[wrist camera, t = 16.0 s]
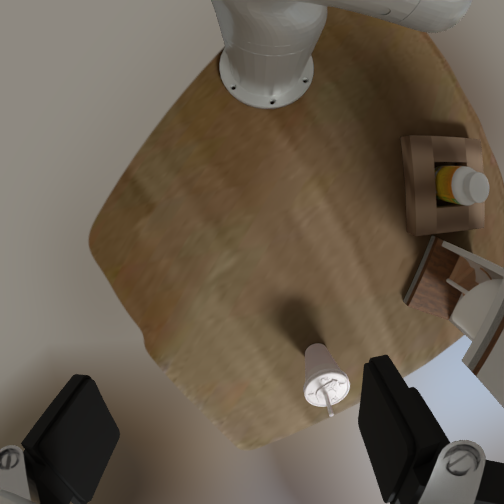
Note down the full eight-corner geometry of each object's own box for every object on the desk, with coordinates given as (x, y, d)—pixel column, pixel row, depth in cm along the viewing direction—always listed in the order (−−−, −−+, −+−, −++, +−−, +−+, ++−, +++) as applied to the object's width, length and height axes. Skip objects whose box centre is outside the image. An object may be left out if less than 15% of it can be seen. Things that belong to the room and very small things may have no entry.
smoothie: (289, 362, 47) (299, 424, 33) (307, 330, 45) (323, 388, 31) (324, 372, 47) (342, 431, 33) (342, 342, 45) (368, 398, 32)
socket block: (400, 137, 37) (409, 135, 34) (469, 140, 37) (480, 139, 34) (406, 232, 41) (416, 236, 38) (473, 224, 40) (484, 227, 37)
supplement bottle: (428, 200, 40) (465, 209, 30) (427, 165, 38) (464, 165, 29) (454, 200, 39) (492, 208, 30) (453, 166, 38) (492, 167, 29)
